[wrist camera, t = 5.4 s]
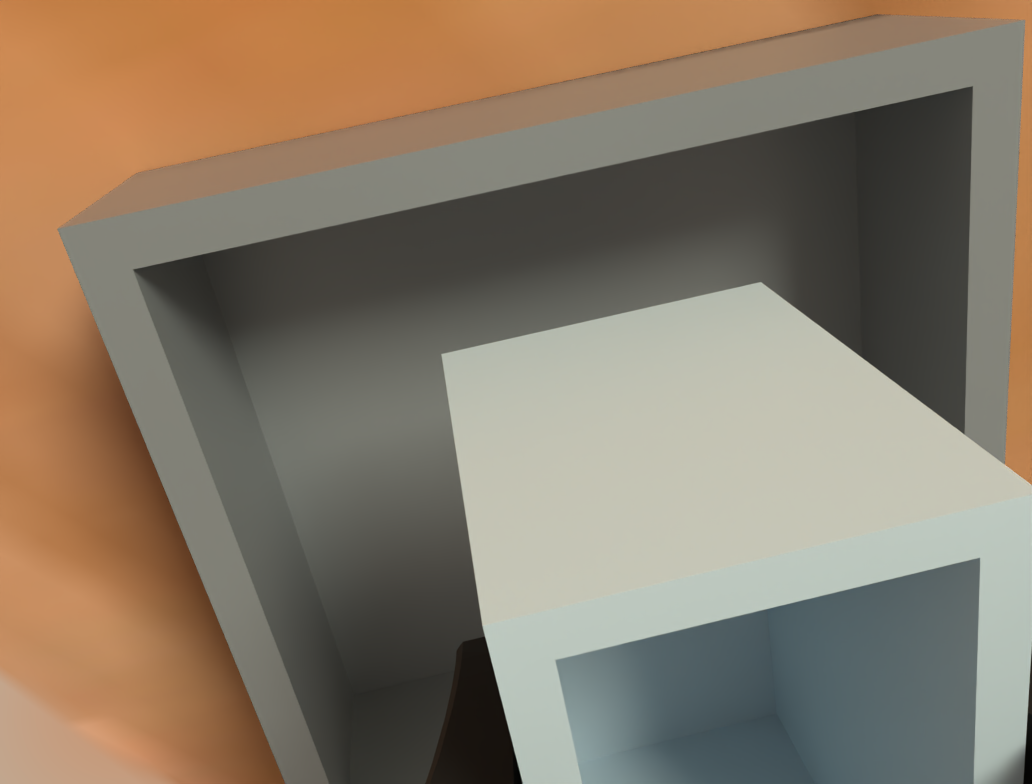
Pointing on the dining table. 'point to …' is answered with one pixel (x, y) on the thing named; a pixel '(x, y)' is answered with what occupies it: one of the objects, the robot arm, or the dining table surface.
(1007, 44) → the big crate
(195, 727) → the dining table surface
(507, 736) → the robot arm
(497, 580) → the small crate
